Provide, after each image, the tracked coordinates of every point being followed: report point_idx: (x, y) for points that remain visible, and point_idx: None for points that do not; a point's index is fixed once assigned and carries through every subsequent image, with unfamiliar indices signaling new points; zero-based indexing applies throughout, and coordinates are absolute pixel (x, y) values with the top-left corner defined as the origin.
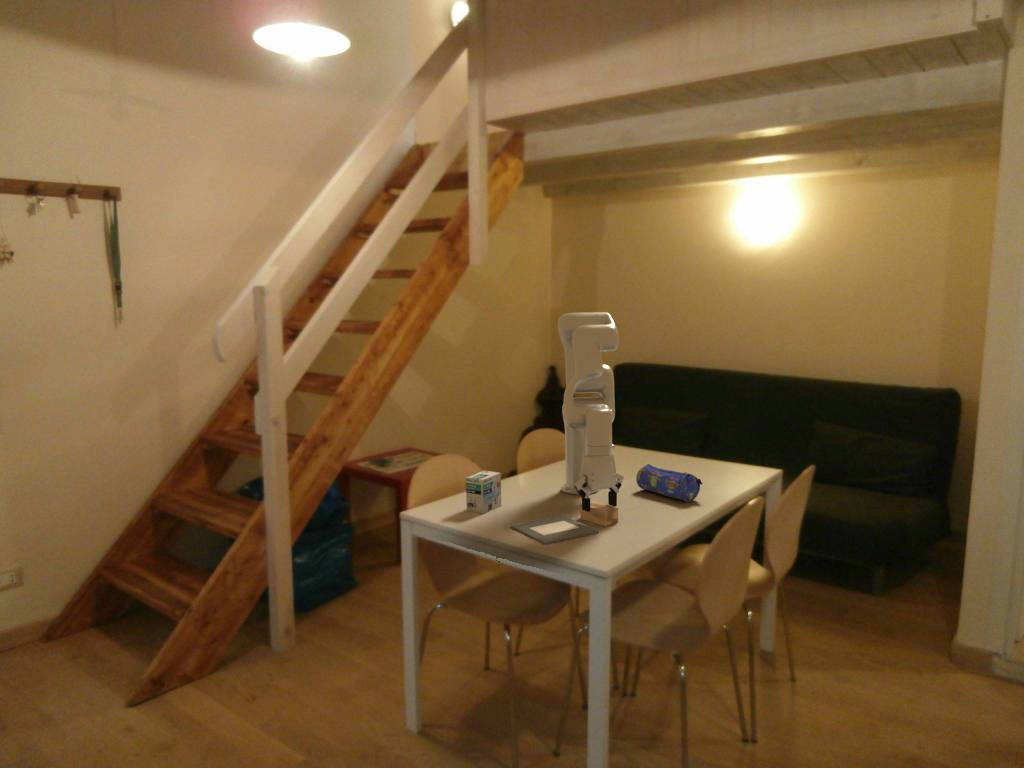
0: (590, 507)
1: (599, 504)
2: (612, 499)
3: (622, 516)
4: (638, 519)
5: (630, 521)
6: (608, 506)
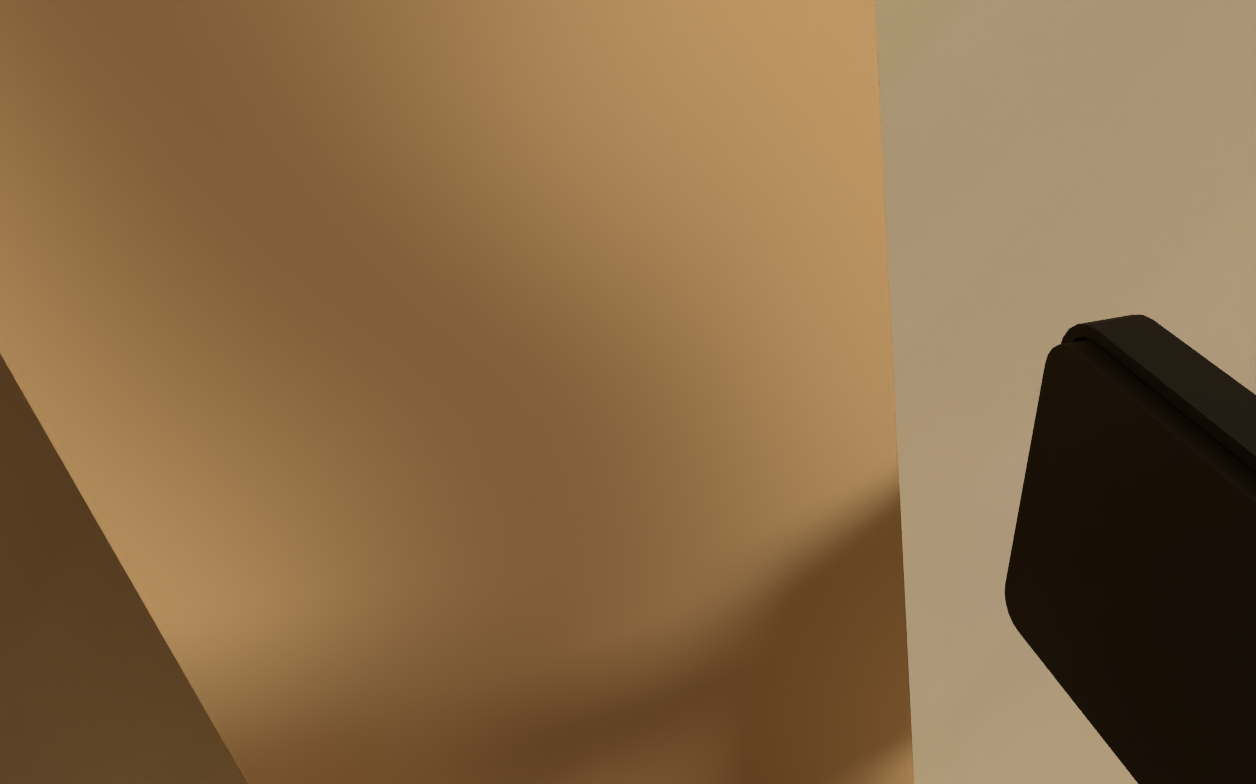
0: (134, 582)
1: (685, 406)
2: (1153, 671)
3: (1124, 279)
4: None
5: (978, 606)
6: (783, 689)
